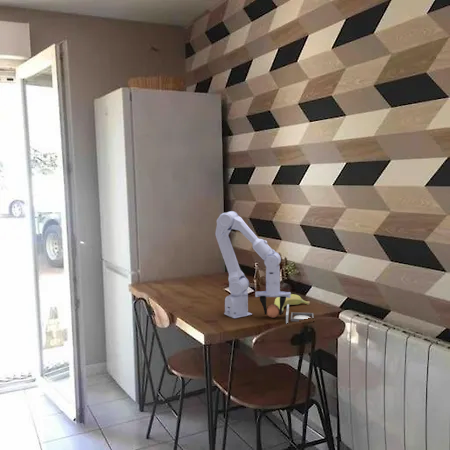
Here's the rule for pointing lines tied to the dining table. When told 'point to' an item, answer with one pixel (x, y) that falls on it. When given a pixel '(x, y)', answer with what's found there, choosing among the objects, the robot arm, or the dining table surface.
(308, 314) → the grey square frame
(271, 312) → the ball
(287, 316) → the acrylic wall
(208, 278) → the dining table surface
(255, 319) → the dining table surface
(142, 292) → the dining table surface
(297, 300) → the banana
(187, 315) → the dining table surface
